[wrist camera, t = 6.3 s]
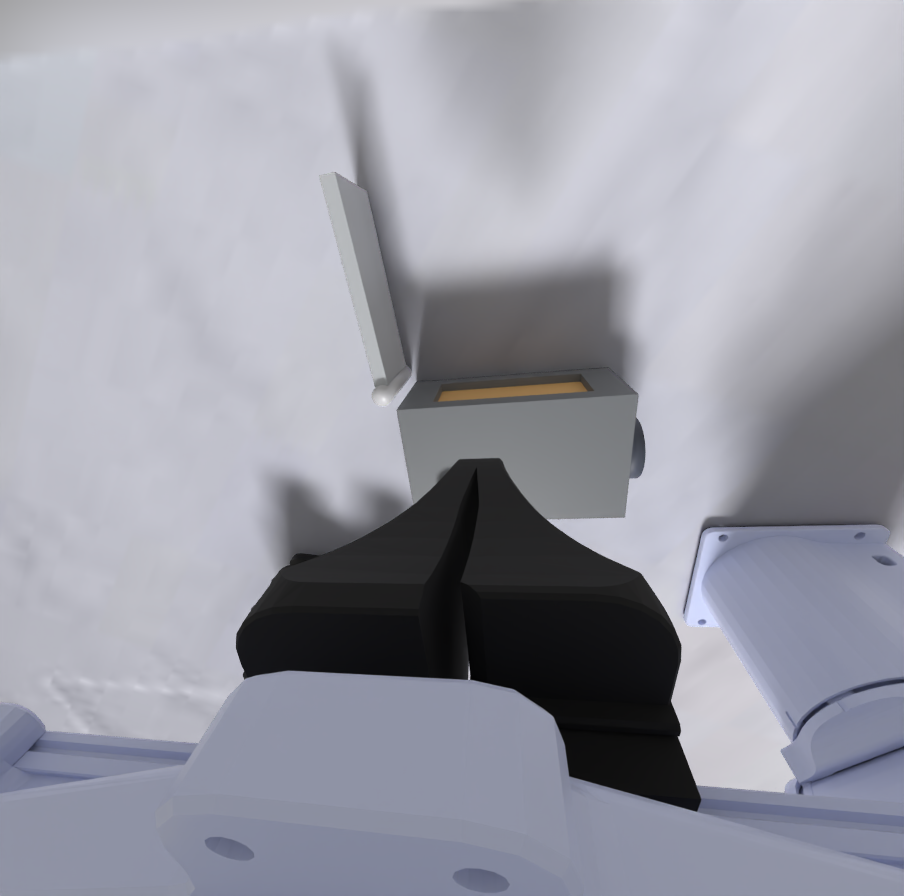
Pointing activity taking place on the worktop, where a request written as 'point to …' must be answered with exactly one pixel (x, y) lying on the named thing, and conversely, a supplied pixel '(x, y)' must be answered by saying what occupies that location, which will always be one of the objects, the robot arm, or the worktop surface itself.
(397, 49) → the worktop surface
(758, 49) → the worktop surface
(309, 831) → the robot arm
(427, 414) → the camera case
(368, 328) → the side cover
